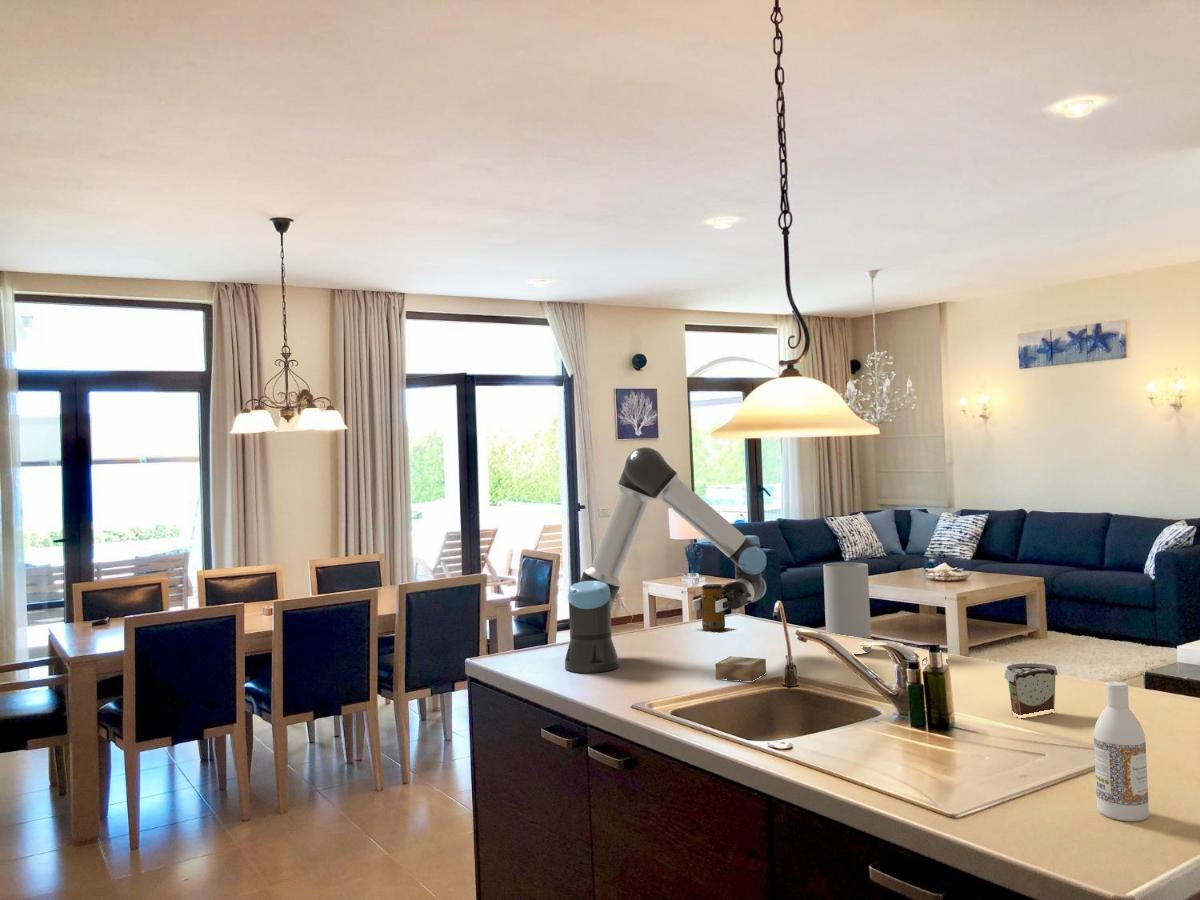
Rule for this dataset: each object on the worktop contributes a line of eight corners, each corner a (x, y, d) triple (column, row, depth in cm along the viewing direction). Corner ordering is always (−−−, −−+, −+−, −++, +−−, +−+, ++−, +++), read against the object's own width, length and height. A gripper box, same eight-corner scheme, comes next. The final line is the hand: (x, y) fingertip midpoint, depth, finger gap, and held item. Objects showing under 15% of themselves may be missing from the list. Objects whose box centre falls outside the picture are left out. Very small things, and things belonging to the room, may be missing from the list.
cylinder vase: (823, 647, 277) (819, 563, 277) (865, 646, 276) (861, 561, 277) (831, 656, 264) (828, 568, 265) (876, 655, 264) (872, 566, 264)
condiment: (712, 626, 254) (710, 582, 254) (737, 629, 247) (735, 584, 248) (694, 630, 249) (692, 585, 249) (719, 634, 242) (717, 588, 243)
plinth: (716, 679, 242) (715, 663, 242) (730, 671, 250) (730, 655, 250) (752, 682, 237) (751, 665, 237) (766, 674, 245) (765, 658, 245)
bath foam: (1128, 826, 139) (1121, 690, 139) (1087, 810, 145) (1081, 681, 145) (1159, 817, 141) (1153, 684, 142) (1118, 803, 148) (1112, 676, 148)
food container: (1036, 706, 205) (1034, 660, 205) (1059, 712, 200) (1057, 665, 200) (992, 713, 201) (990, 666, 201) (1015, 720, 195) (1013, 672, 195)
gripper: (769, 608, 259) (739, 622, 239) (706, 606, 269) (672, 619, 249) (768, 581, 260) (738, 593, 239) (705, 580, 269) (671, 591, 249)
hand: (704, 606), depth 244 cm, fingers closed on condiment, 6 cm apart
